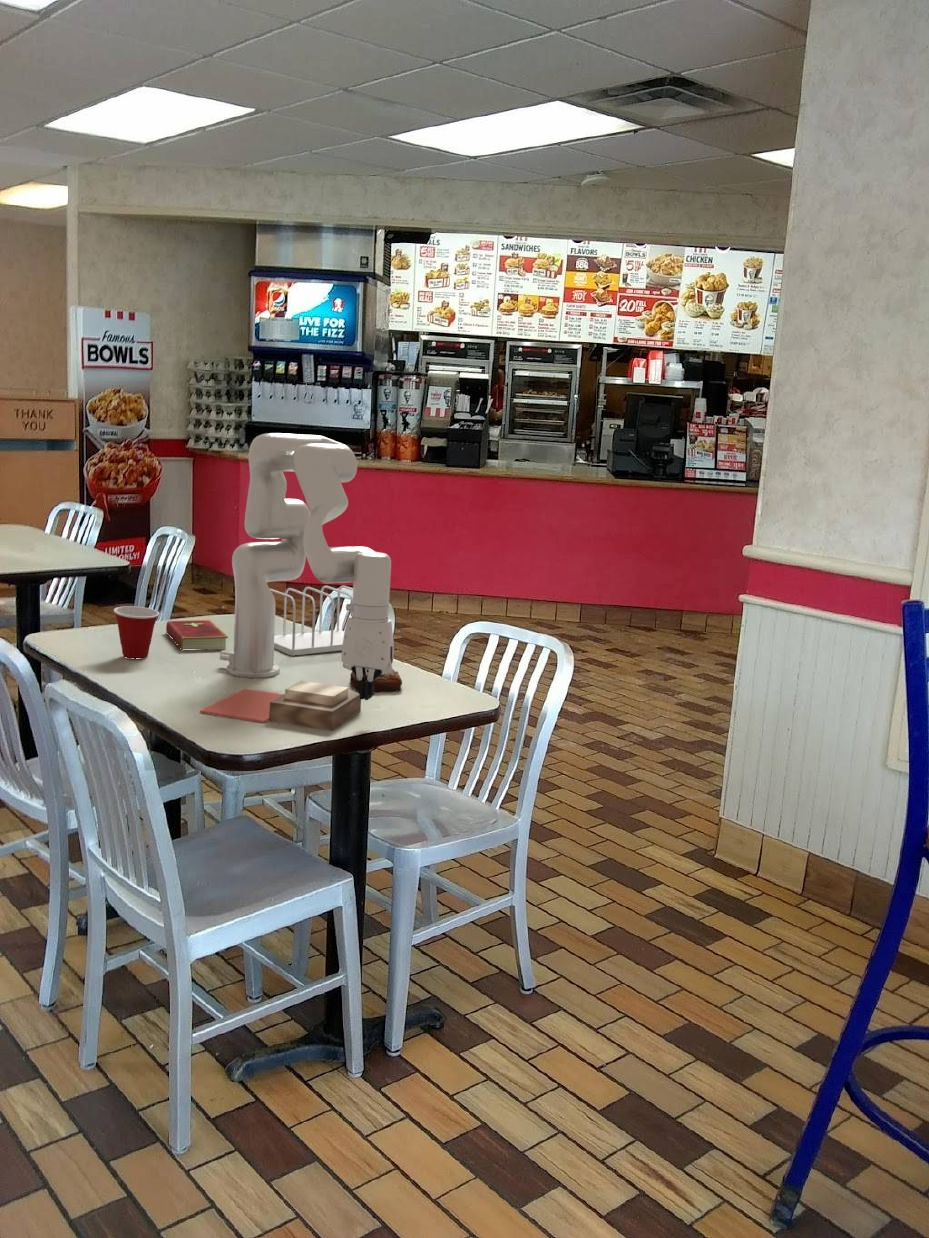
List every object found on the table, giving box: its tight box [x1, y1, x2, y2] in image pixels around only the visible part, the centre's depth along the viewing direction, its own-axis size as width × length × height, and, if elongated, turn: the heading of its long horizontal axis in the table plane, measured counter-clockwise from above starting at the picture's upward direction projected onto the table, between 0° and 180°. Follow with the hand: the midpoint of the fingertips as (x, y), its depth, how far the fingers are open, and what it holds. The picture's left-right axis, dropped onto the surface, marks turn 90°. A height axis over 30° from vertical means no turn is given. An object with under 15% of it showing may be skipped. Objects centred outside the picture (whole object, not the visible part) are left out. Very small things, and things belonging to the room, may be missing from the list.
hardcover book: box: [165, 619, 229, 651], centre depth 286 cm, size 12×21×4 cm, turn 25°
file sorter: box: [269, 585, 353, 657], centre depth 290 cm, size 25×17×16 cm
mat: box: [199, 688, 285, 723], centre depth 231 cm, size 15×20×1 cm
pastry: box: [349, 668, 403, 693], centre depth 254 cm, size 11×12×6 cm
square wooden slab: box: [268, 690, 362, 731], centre depth 227 cm, size 14×16×4 cm
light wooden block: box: [284, 680, 349, 706], centre depth 227 cm, size 11×8×2 cm
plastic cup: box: [113, 605, 160, 659], centre depth 264 cm, size 11×11×12 cm
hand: (366, 698), depth 224 cm, fingers closed
